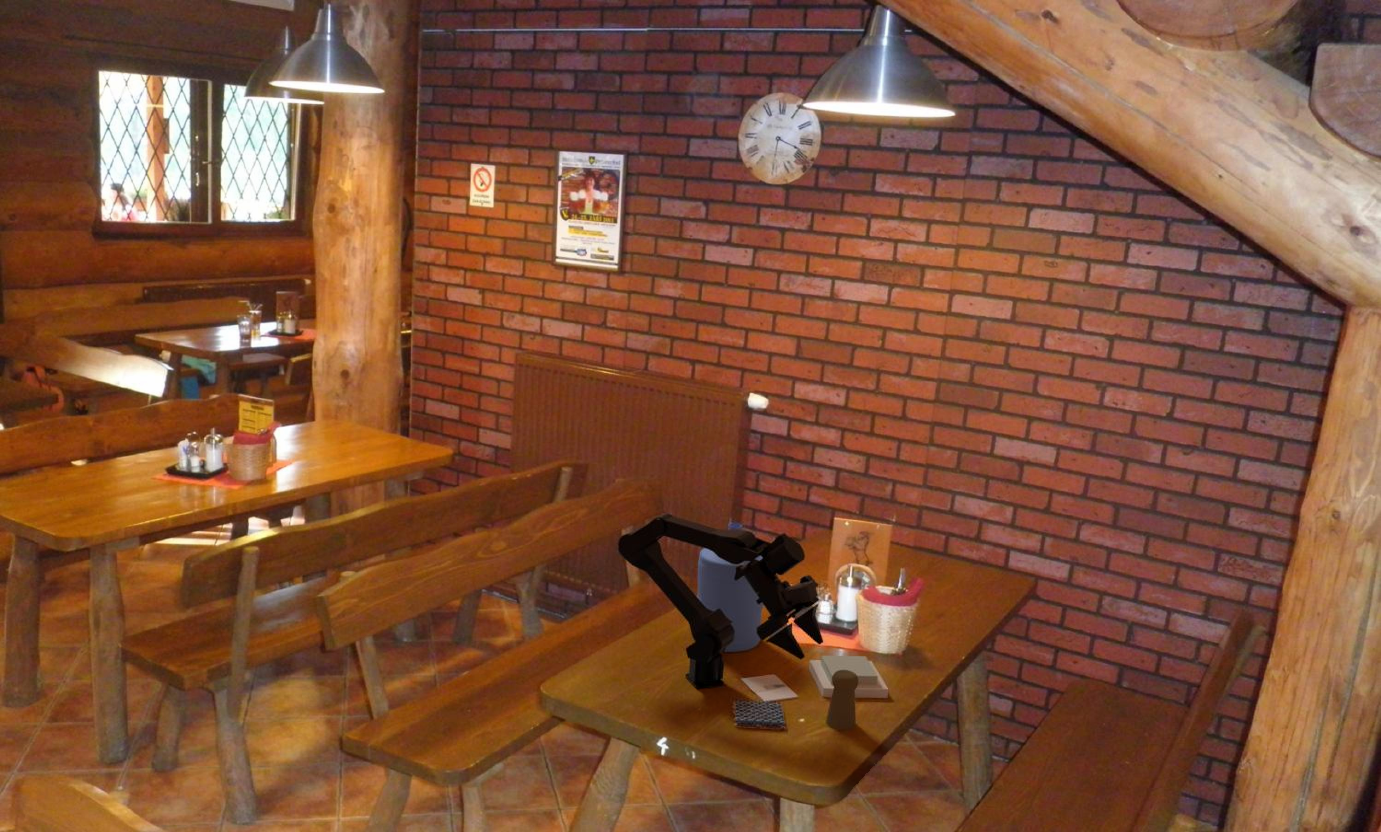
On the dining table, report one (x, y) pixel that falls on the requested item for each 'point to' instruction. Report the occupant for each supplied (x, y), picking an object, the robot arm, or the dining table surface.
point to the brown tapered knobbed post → (843, 701)
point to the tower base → (858, 690)
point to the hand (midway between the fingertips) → (812, 650)
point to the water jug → (730, 597)
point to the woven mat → (759, 714)
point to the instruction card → (769, 688)
